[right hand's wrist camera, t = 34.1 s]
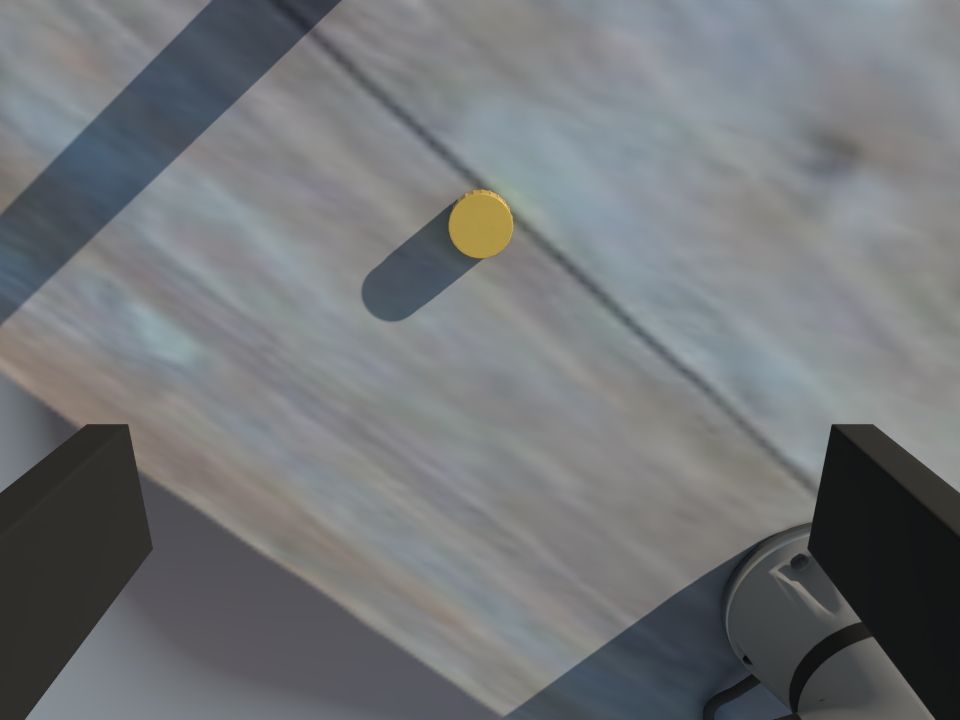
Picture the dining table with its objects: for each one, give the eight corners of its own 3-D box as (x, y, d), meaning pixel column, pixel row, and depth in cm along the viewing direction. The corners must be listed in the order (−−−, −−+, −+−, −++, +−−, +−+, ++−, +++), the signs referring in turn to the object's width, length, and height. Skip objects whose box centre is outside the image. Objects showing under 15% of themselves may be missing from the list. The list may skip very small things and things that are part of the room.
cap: (513, 249, 45) (515, 256, 42) (452, 254, 45) (451, 261, 43) (509, 186, 43) (511, 190, 41) (446, 192, 43) (444, 196, 41)
